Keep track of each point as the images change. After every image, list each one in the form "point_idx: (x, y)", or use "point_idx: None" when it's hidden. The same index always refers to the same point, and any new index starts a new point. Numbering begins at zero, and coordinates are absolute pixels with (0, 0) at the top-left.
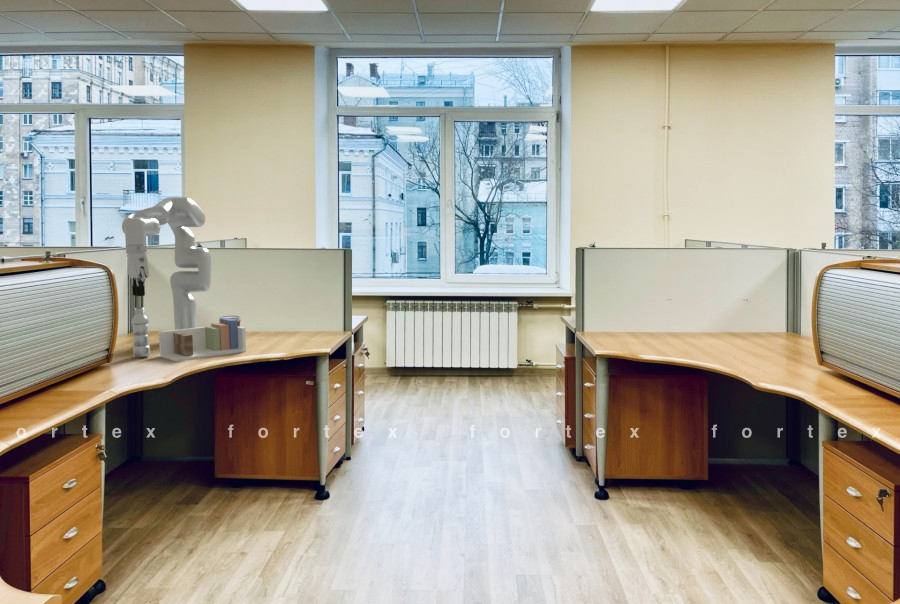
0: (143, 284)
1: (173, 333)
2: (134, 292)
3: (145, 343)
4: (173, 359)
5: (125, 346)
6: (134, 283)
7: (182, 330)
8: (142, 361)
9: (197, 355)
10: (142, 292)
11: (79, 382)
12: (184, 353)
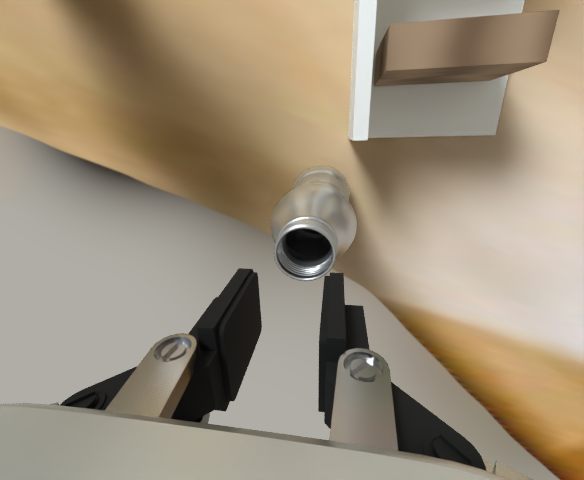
0: (400, 389)
1: (386, 71)
2: (253, 340)
3: (345, 194)
4: (476, 135)
5: (95, 156)
6: (204, 415)
7: (376, 1)
8: (391, 215)
9: None
10: (362, 317)
11: (523, 407)
12: (480, 79)
